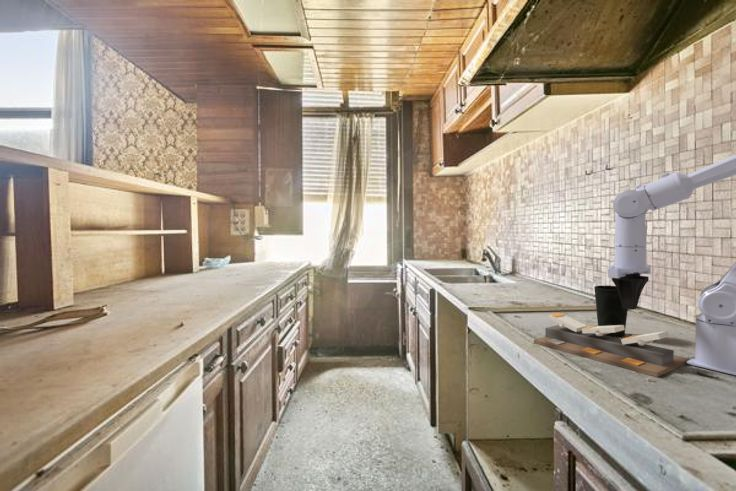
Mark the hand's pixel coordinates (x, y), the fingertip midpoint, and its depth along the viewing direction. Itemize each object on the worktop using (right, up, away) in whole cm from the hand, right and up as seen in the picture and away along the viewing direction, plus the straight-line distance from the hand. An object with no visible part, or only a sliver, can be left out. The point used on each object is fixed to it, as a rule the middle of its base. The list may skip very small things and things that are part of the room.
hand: (629, 308), depth 82 cm
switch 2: (-6, -6, 0) cm, 8 cm away
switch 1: (-10, -6, +7) cm, 14 cm away
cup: (+5, -9, +14) cm, 17 cm away
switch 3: (-1, -6, -7) cm, 9 cm away
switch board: (-5, -10, 0) cm, 11 cm away
